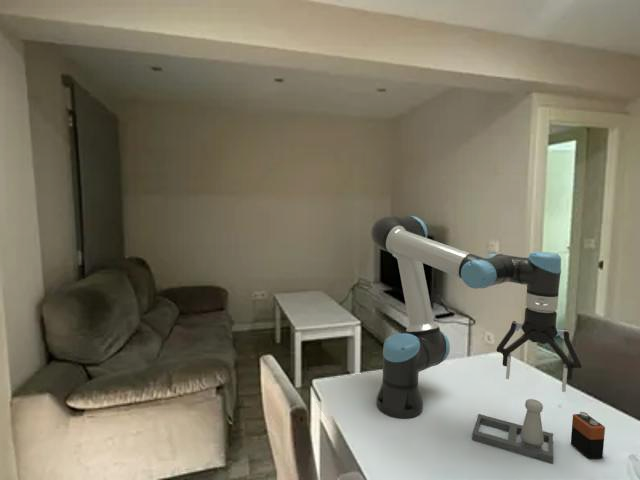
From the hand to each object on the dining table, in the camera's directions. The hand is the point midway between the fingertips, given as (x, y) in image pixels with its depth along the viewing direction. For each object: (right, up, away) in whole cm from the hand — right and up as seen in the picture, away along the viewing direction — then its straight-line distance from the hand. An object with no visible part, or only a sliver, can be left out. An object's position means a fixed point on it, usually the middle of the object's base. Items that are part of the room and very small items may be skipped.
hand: (534, 383), depth 107 cm
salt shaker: (0, -18, +2) cm, 18 cm away
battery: (+14, -19, -1) cm, 23 cm away
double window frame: (-4, -18, +4) cm, 19 cm away
